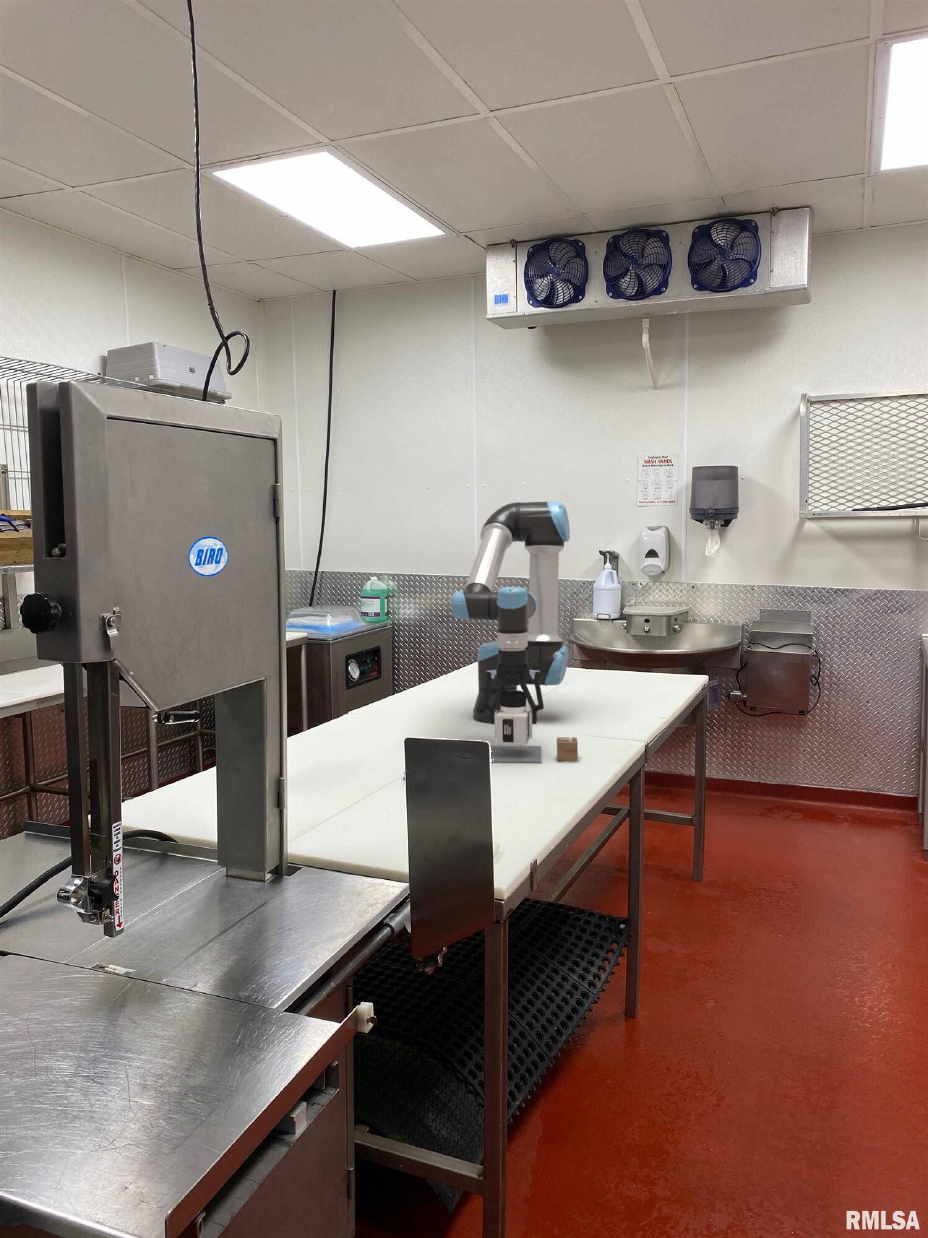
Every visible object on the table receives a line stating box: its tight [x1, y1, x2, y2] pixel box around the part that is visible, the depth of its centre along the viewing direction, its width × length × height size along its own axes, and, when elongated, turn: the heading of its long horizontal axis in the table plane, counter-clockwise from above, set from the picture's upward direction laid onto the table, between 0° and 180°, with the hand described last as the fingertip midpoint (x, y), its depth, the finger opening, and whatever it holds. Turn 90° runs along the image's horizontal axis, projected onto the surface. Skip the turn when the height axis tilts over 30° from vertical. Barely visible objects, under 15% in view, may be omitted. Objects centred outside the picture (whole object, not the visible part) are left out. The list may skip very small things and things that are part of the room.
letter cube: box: [556, 736, 579, 763], centre depth 218 cm, size 5×5×5 cm
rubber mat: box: [490, 745, 542, 764], centre depth 222 cm, size 14×14×1 cm
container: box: [496, 689, 531, 746], centre depth 221 cm, size 8×8×13 cm
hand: (513, 736), depth 222 cm, fingers closed on container, 8 cm apart
